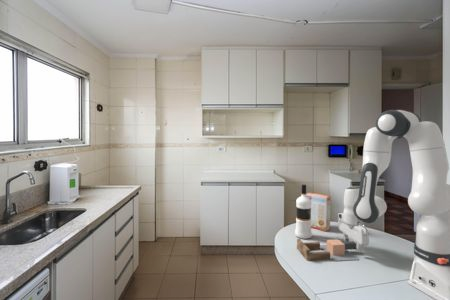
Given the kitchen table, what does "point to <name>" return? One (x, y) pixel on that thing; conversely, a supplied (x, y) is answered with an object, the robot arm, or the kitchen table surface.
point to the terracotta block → (339, 246)
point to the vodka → (303, 216)
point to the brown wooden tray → (305, 251)
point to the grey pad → (345, 257)
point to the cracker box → (320, 211)
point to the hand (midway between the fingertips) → (352, 246)
